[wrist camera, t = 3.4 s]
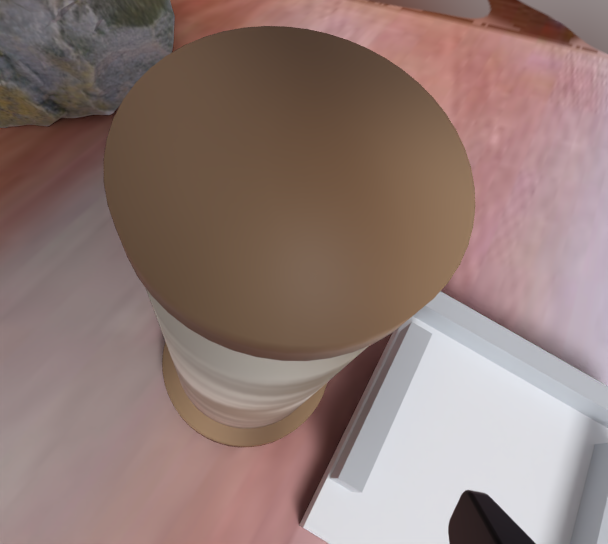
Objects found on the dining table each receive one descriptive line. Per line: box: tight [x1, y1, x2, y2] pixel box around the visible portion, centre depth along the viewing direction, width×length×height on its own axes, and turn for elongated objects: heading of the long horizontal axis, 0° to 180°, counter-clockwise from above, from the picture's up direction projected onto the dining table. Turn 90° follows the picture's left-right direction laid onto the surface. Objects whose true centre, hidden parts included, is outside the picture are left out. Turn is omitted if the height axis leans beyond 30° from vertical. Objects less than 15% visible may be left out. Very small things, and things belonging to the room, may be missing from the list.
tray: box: [299, 291, 608, 544], centre depth 20 cm, size 11×11×2 cm
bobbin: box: [104, 26, 475, 447], centre depth 15 cm, size 7×7×15 cm
